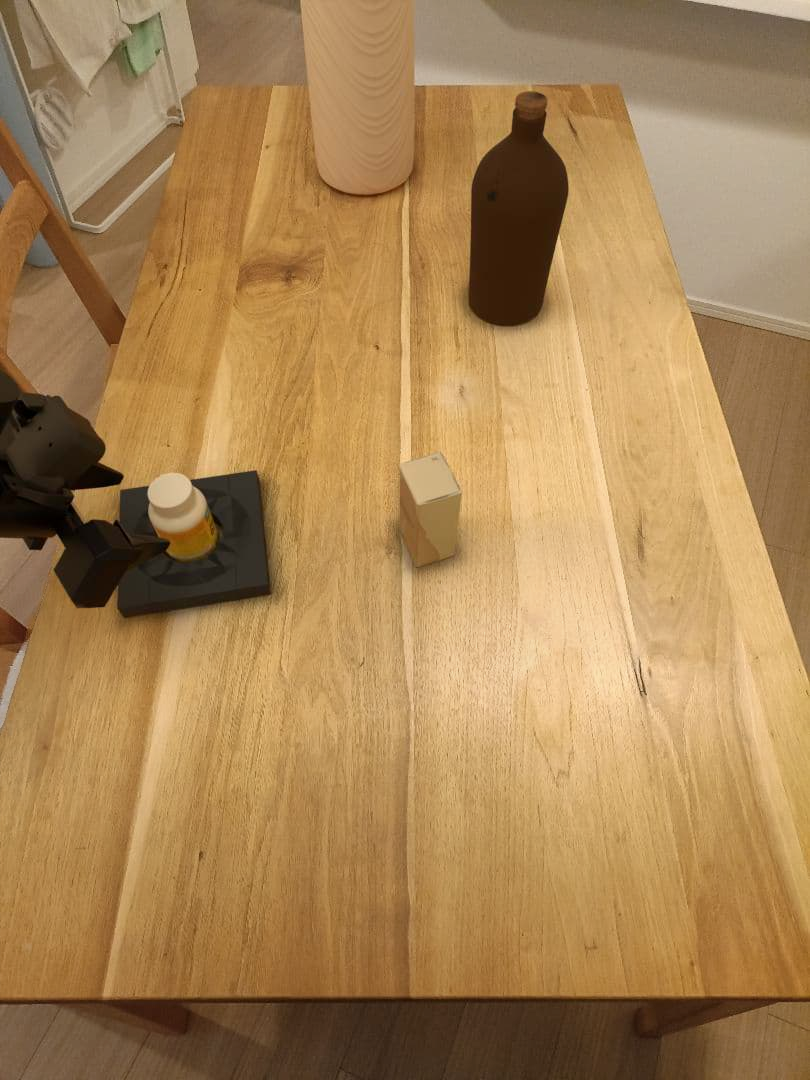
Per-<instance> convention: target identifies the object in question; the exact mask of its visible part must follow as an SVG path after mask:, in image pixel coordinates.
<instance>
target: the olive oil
mask: <svg viewBox="0 0 810 1080" xmlns="http://www.w3.org/2000/svg"><path fill="white" fill-rule="evenodd" d="M547 107H548V98H547V96H546V95H545V94H543V93H541V92H538V91H534V90H530V91H529V90H527V91H523V92H520V93H519V94H517V95H516V97H515V101H514V109H513V110H512V117H511V118H512V119H511V131H510V133H509V134H508V135H507V136H506V137H504V138H503V139H501V140H500V141H499V142H498V143H496V144H495V145H494V146H493V147H492V148H491V149H489V150H488V151H487V152H486V153H485V154H484V155H483V157H482V158H481V159H480V161H479V163H478V166H477V167H476V170H475V172H474V175H473V178H472V183H471V188H470V189H471V190H470V240H469V241H470V244H469V273H468V275H469V276H468V296H467V297H468V304H469V307H470V309H471V310H472V312H473V313H474V314H475V315H476V316H477V317H478V318H480V319H481V320H483V321H486V322H487V323H490V324H492V325H497V326H503V327H504V326H506V327H507V326H508V327H509V326H510V327H511V326H518V325H522V324H525V323H528V322H529V321H531V320H533V319H534V318H536V317H537V316H538V315H539V313H540V312H541V310H542V308H543V304H544V299H545V295H546V290H547V286H548V282H549V277H550V273H551V268H552V264H553V259H554V255H555V252H556V246H557V244H558V243H557V242H558V238H559V235H560V230H561V228H562V227H561V226H562V224H563V219H564V215H565V210H566V207H567V203H568V197H569V192H570V191H569V189H570V187H569V177H568V171H567V167H566V165H565V163H564V161H563V159H562V157H561V156H560V155H559V153H558V152H557V151H556V150H555V149H554V147H553V145H552V144H550V142H549V141H548V140H547V139H546V137H545V136H544V131H545V126H546V120H547V119H546V118H547V116H548V115H547V111H546V109H547Z"/></svg>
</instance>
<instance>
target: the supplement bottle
mask: <svg viewBox="0 0 810 1080" xmlns="http://www.w3.org/2000/svg"><path fill="white" fill-rule="evenodd" d="M190 480H191V479H189V477H187V476H186V475H185V474H183V473H181V472H167V473H163V474H160V475H159V476H157V477H156V478H155V479H153V480H152V481H151V482H150V484H149V485H148V486H149V488H148V499H149V501H150V504H149V508H148V514H149V518H150V520H151V522H152V524H153V526H154V528H155V530H156V532H157V534H158V536H159V537H160V538H164V539H168V540H169V541H170V545H169V547H168V549H167V550H166V551H165V552H166V555H167V557H169V558H170V559H172V560H173V561H179V562H184V563H187V562H193V561H199V560H201V559H203V558H205V557H207V556H209V555H210V554H211V553H212V552H213V551H214V550H215V549H216V548H217V547H218V546H219V544H220V542H221V538H220V535H219V532H218V529H217V527H216V526H217V525H216V524H215V523H214V521H213V518H212V515H211V513H210V510H209V507H208V505H207V502H206V499H205V497H204V495H203V494H202V493H201V491H199V490H198V489H197V488H195V487H194V486H192V483H191V481H190Z"/></svg>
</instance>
